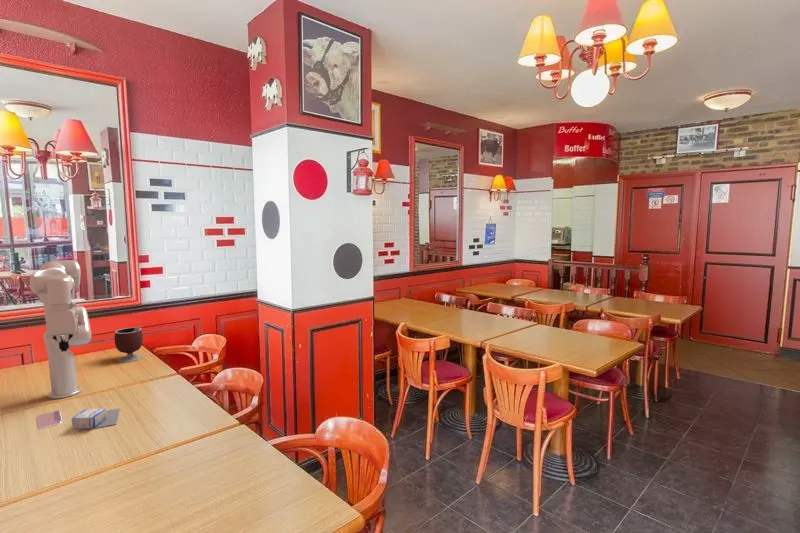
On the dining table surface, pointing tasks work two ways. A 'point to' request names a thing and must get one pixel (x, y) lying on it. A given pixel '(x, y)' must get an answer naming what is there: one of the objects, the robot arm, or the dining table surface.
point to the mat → (106, 420)
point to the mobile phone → (49, 419)
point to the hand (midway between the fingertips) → (64, 350)
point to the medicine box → (89, 418)
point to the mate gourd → (129, 343)
